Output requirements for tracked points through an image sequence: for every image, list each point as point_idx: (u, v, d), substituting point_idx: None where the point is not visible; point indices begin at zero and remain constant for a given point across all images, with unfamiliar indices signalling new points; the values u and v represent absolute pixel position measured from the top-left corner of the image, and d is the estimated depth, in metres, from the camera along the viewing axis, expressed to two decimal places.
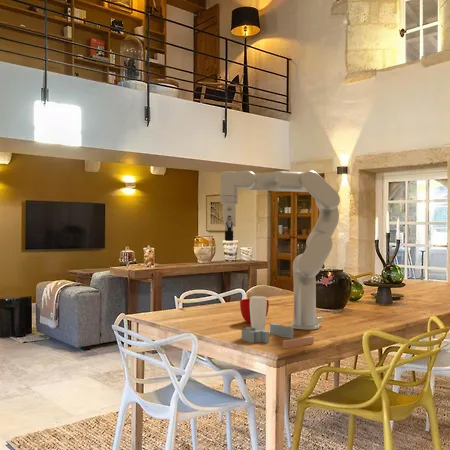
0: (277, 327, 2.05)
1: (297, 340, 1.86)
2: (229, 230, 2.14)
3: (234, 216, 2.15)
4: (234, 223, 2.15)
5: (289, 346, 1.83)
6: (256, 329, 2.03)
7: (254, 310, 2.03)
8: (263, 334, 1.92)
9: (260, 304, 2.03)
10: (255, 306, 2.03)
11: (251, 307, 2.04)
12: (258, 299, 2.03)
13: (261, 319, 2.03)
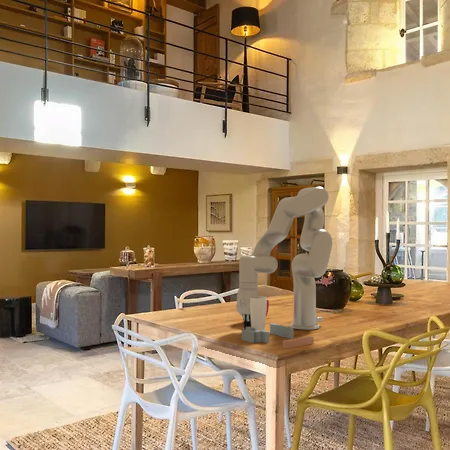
0: (277, 327, 2.05)
1: (297, 340, 1.86)
2: None
3: None
4: None
5: (289, 346, 1.83)
6: (256, 329, 2.03)
7: (254, 310, 2.03)
8: (263, 334, 1.92)
9: (260, 304, 2.02)
10: (255, 306, 2.02)
11: (251, 307, 2.04)
12: (258, 299, 2.02)
13: (261, 319, 2.03)
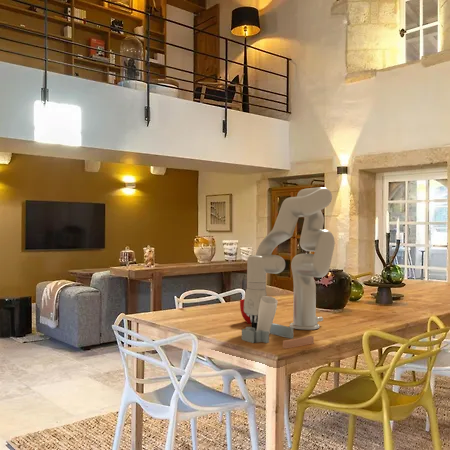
0: (277, 327, 2.05)
1: (297, 340, 1.86)
2: None
3: None
4: None
5: (289, 346, 1.83)
6: None
7: (263, 313, 1.97)
8: (263, 334, 1.92)
9: (270, 309, 1.96)
10: (265, 310, 1.96)
11: (260, 309, 1.98)
12: (269, 304, 1.95)
13: (269, 322, 1.98)
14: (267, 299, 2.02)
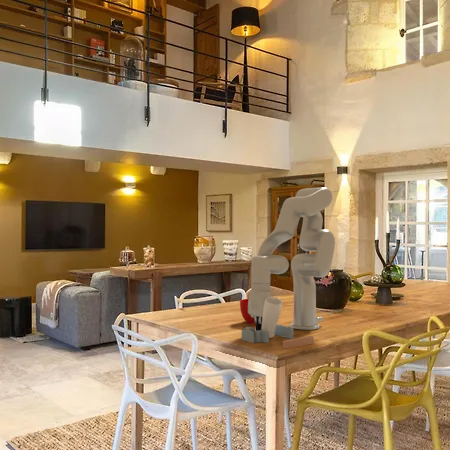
0: (277, 327, 2.05)
1: (297, 340, 1.86)
2: None
3: None
4: None
5: (289, 346, 1.83)
6: None
7: (267, 314, 1.95)
8: (263, 334, 1.92)
9: (275, 310, 1.94)
10: (269, 311, 1.94)
11: (265, 310, 1.95)
12: (273, 305, 1.93)
13: (273, 323, 1.96)
14: (272, 300, 1.99)
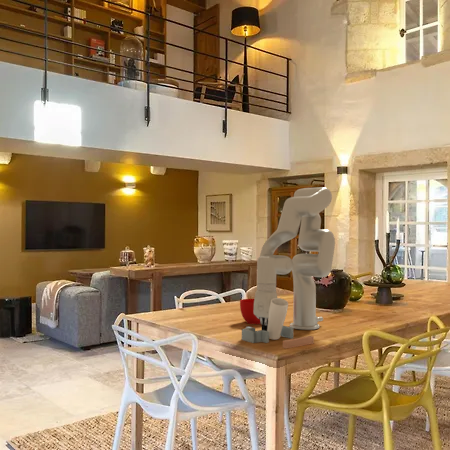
0: None
1: (297, 340, 1.86)
2: None
3: None
4: None
5: (289, 346, 1.83)
6: (272, 333, 1.95)
7: (273, 316, 1.92)
8: (263, 334, 1.92)
9: (281, 311, 1.91)
10: (275, 312, 1.91)
11: (271, 312, 1.93)
12: (279, 306, 1.90)
13: (279, 325, 1.93)
14: (278, 301, 1.96)
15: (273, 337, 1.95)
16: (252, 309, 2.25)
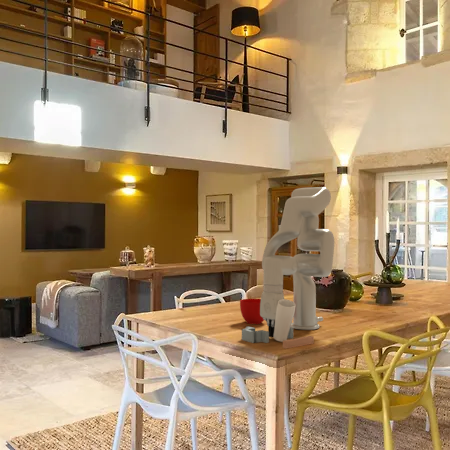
0: None
1: (297, 340, 1.86)
2: None
3: None
4: None
5: (289, 346, 1.83)
6: (279, 335, 1.91)
7: (280, 317, 1.89)
8: (263, 334, 1.92)
9: (288, 313, 1.88)
10: (282, 314, 1.88)
11: (277, 313, 1.89)
12: (286, 308, 1.87)
13: (286, 327, 1.90)
14: (285, 302, 1.93)
15: (280, 339, 1.92)
16: (252, 309, 2.25)
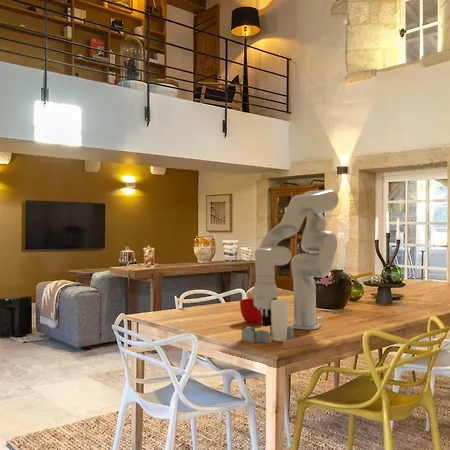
0: None
1: (297, 340, 1.86)
2: None
3: None
4: None
5: (289, 346, 1.83)
6: (278, 334, 1.92)
7: (276, 314, 1.92)
8: (263, 334, 1.92)
9: (282, 308, 1.92)
10: (277, 310, 1.92)
11: (273, 311, 1.93)
12: (280, 302, 1.92)
13: (283, 323, 1.92)
14: None
15: (279, 338, 1.92)
16: (252, 309, 2.25)
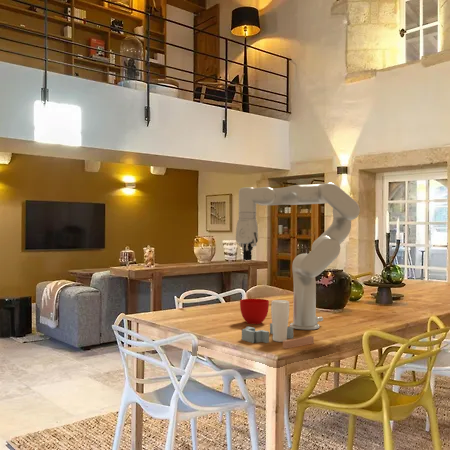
0: None
1: (297, 340, 1.86)
2: None
3: None
4: None
5: (289, 346, 1.83)
6: (278, 335, 1.92)
7: (276, 315, 1.92)
8: (263, 334, 1.92)
9: (282, 309, 1.92)
10: (277, 310, 1.92)
11: (273, 312, 1.93)
12: (280, 303, 1.92)
13: (283, 324, 1.92)
14: None
15: (280, 339, 1.92)
16: (252, 309, 2.25)
